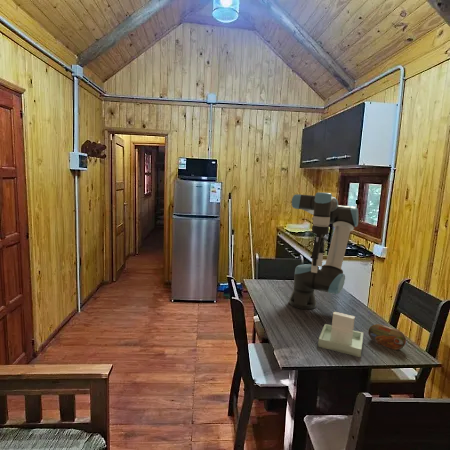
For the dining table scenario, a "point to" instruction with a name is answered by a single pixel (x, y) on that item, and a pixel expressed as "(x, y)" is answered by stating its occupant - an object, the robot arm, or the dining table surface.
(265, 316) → the dining table surface
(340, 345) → the bin
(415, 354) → the dining table surface
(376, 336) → the tin
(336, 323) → the base with upright slab
